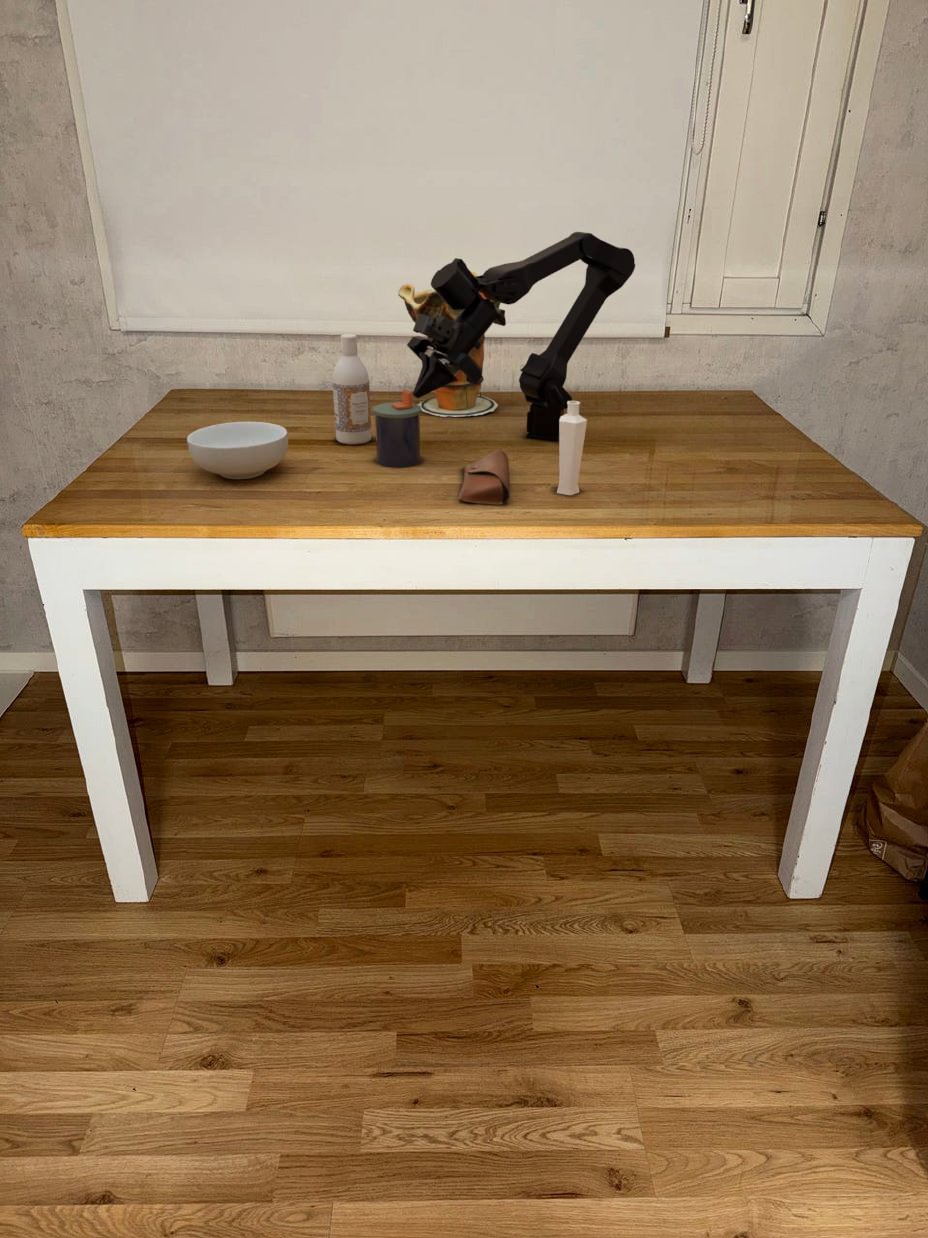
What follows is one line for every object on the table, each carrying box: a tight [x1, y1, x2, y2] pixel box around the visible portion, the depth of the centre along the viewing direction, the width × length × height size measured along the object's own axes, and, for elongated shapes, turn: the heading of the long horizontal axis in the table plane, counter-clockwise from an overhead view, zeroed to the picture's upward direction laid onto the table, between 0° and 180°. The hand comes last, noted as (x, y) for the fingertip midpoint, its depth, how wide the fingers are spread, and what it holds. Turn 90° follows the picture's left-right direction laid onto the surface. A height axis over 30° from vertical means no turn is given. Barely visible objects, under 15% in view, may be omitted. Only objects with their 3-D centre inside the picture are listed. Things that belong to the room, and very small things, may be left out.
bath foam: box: [332, 333, 372, 446], centre depth 165 cm, size 7×7×20 cm
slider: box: [391, 389, 413, 410], centre depth 154 cm, size 3×3×3 cm
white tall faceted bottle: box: [556, 400, 588, 496], centre depth 142 cm, size 5×4×15 cm
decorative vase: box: [397, 270, 501, 418], centre depth 186 cm, size 21×23×28 cm
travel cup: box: [372, 401, 422, 468], centre depth 157 cm, size 9×9×10 cm
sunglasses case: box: [458, 448, 511, 506], centre depth 146 cm, size 18×7×7 cm
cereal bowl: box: [186, 421, 289, 480], centre depth 151 cm, size 17×17×7 cm
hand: (415, 396), depth 155 cm, fingers closed
